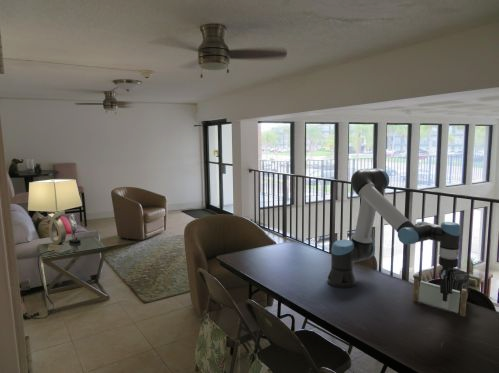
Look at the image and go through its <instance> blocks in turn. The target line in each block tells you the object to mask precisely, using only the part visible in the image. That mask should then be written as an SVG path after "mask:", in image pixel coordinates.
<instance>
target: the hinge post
mask: <svg viewBox="0 0 499 373" xmlns="http://www.w3.org/2000/svg"><path fill="white" fill-rule="evenodd" d="M412 278H413V287H412V289H413V290H412V302H415V303H416V302H417V303H418V302H419V291H420V279H421V275H418V274H413V275H412Z"/></svg>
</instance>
